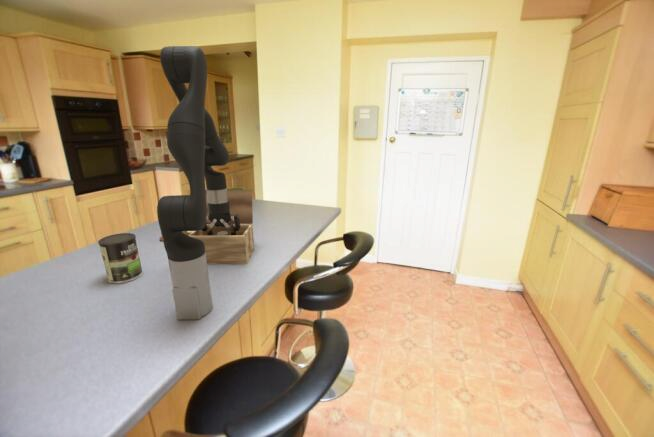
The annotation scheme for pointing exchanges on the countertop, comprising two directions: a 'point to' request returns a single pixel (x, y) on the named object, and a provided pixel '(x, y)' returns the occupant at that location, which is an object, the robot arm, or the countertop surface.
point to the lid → (238, 205)
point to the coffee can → (121, 257)
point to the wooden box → (227, 244)
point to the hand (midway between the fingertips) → (222, 240)
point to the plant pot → (236, 188)
